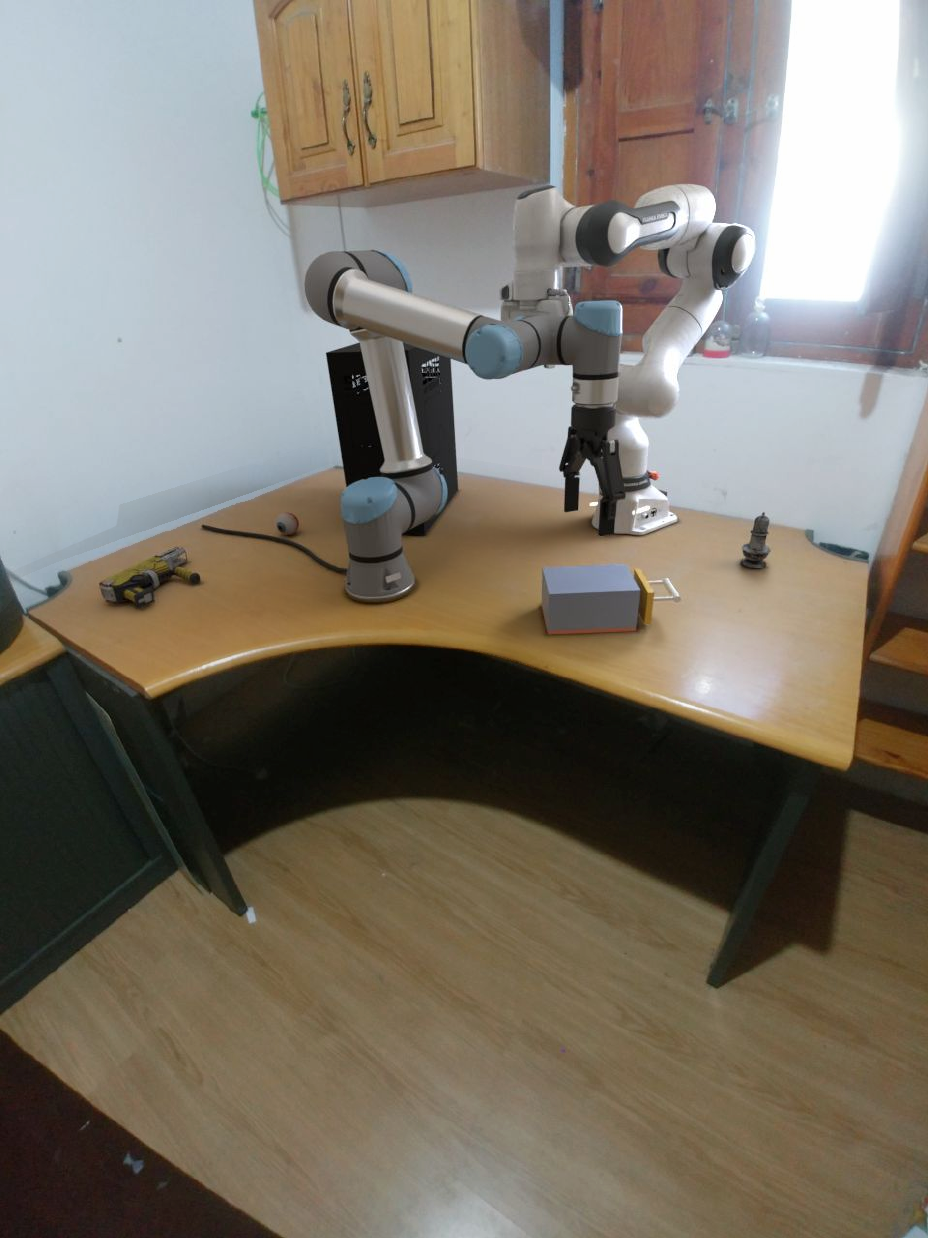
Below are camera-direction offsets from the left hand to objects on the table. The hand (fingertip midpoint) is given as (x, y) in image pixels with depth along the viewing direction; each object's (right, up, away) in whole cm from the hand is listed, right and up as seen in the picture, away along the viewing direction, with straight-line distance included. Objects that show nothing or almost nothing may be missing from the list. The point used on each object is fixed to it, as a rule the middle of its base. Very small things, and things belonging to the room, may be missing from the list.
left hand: (587, 522), depth 113 cm
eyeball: (-71, +5, +52) cm, 89 cm away
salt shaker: (+42, -6, +22) cm, 48 cm away
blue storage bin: (+1, -18, +6) cm, 19 cm away
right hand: (-8, +34, +11) cm, 36 cm away
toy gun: (-93, -10, +28) cm, 98 cm away
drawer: (+7, -17, +5) cm, 19 cm away
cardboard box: (-39, +14, +65) cm, 77 cm away
